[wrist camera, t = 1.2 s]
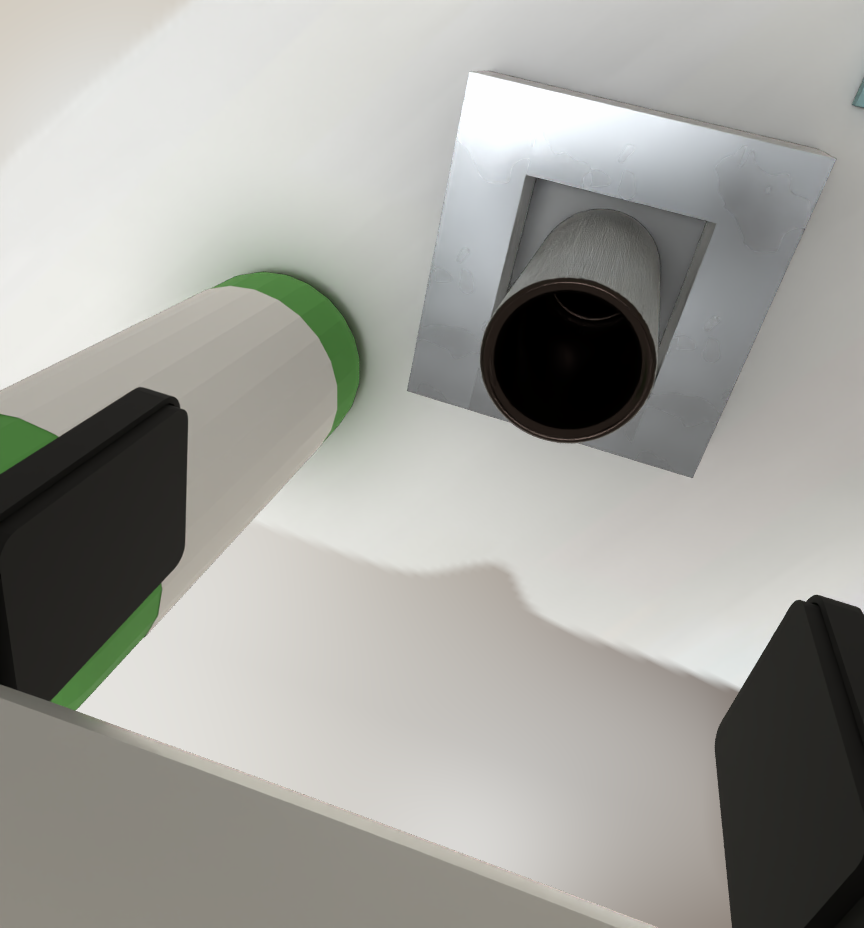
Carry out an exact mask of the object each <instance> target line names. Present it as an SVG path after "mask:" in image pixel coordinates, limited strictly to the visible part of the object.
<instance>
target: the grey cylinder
mask: <svg viewBox="0 0 864 928" xmlns="http://www.w3.org/2000/svg"><path fill="white" fill-rule="evenodd" d="M660 278H661V265H660V259H659V254H658V250H657V247H656V245H655V242H654V240H653V239H652V237H651V235H650V234H649V232H648V231H647V230H646V229H645V228H644V227H643V226H642V225H641V224H640V223H639V222H638V221H637V220H635V219H634V218H632V217H630V216H628V215H626V214H624V213H621V212H618V211H615V210H609V209H593V210H588V211H584V212H580V213H578V214H575V215H573V216H571V217H569V218H568V219H566V220H565V221H563V222H562V223H561V224H560V225H558V226H557V227H556V228H555V229H554V230H553V231H552V232H551V233H550V234H549V235H548V237H547V238H546V239H545V241H544V242H543V244H542V245H541V247H540V248H539V249H538V251H537V252H536V254H535V255H534V256H533V258H532V259H531V261H530V262H529V264H528V265H527V266H526V268H525V269H524V271H523V272H522V274H521V275H520V276H519V278H518V279H517V281H516V282H515V283H514V285H513V286H512V288H511V289H510V291H509V292H508V293H507V295H506V296H505V298H504V299H503V301H502V302H501V303H500V305H499V306H498V308H497V309H496V311H495V312H494V314H493V315H492V317H491V319H490V320H489V322H488V324H487V327H486V329H485V331H484V334H483V338H482V342H481V347H480V370H481V375H482V379H483V383H484V386H485V388H486V391H487V393H488V395H489V397H490V399H491V400H492V402H493V403H494V405H495V406H496V408H497V409H498V410H499V411H500V413H501V414H502V415H503V416H504V417H505V418H506V419H507V420H509V421H510V422H511V423H512V424H513V425H515V426H516V427H518V428H519V429H521V430H522V431H524V432H526V433H528V434H530V435H532V436H535V437H537V438H540V439H543V440H547V441H551V442H557V443H582V442H588V441H592V440H596V439H599V438H602V437H605V436H607V435H609V434H611V433H613V432H615V431H617V430H618V429H620V428H621V427H623V426H624V425H626V424H627V423H628V422H629V421H630V420H631V419H632V418H633V417H634V416H635V415H636V414H637V413H638V412H639V411H640V410H641V408H642V407H643V405H644V404H645V402H646V401H647V399H648V397H649V395H650V393H651V391H652V388H653V385H654V382H655V378H656V372H657V364H658V337H659V307H660Z"/></svg>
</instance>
